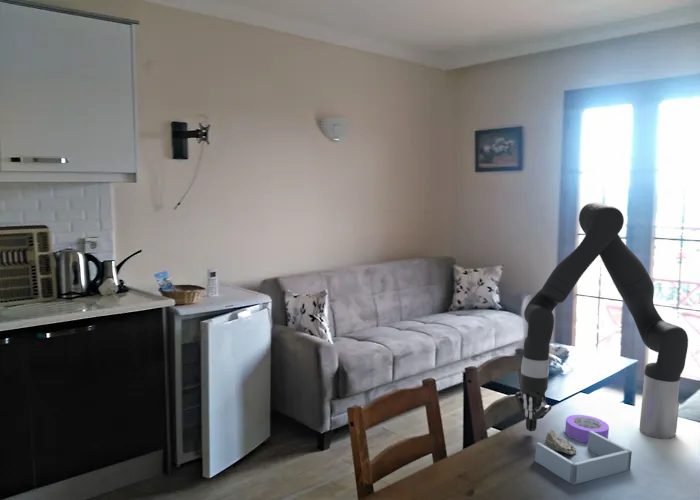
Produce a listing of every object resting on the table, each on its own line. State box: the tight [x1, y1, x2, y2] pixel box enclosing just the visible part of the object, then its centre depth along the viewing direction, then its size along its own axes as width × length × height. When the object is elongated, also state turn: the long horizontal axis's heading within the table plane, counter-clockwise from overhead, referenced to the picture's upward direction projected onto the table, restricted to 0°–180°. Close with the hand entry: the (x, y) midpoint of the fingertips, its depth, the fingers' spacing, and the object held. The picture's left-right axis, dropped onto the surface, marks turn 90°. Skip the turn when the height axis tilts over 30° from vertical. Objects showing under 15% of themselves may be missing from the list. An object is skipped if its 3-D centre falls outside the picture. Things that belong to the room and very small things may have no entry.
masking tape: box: [564, 414, 610, 444], centre depth 172 cm, size 12×12×4 cm
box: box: [534, 431, 633, 486], centre depth 153 cm, size 20×13×5 cm, turn 115°
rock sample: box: [543, 429, 577, 456], centre depth 161 cm, size 10×8×9 cm
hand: (530, 429), depth 170 cm, fingers closed
